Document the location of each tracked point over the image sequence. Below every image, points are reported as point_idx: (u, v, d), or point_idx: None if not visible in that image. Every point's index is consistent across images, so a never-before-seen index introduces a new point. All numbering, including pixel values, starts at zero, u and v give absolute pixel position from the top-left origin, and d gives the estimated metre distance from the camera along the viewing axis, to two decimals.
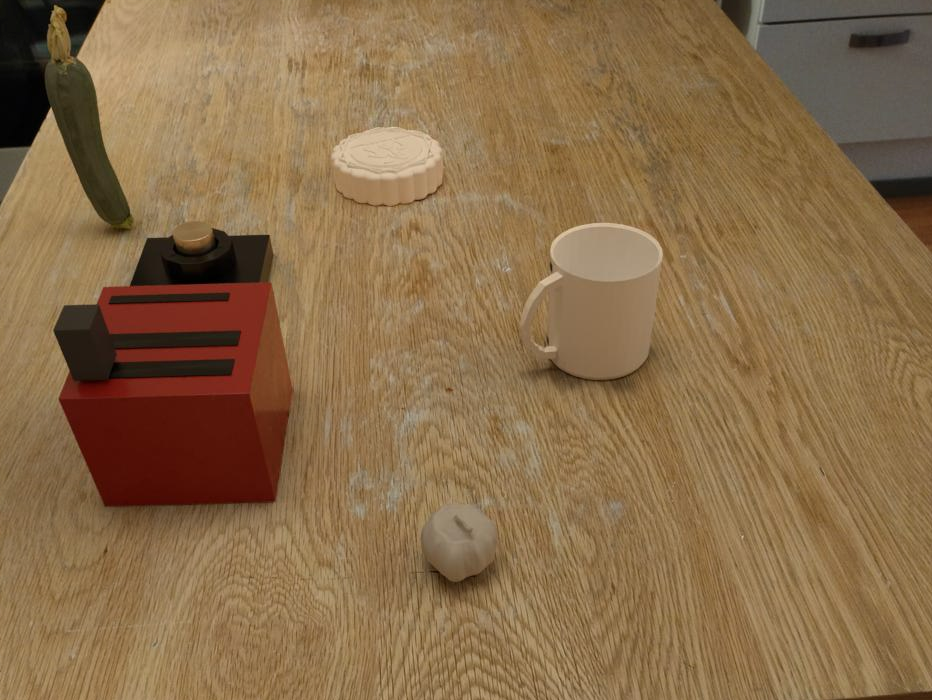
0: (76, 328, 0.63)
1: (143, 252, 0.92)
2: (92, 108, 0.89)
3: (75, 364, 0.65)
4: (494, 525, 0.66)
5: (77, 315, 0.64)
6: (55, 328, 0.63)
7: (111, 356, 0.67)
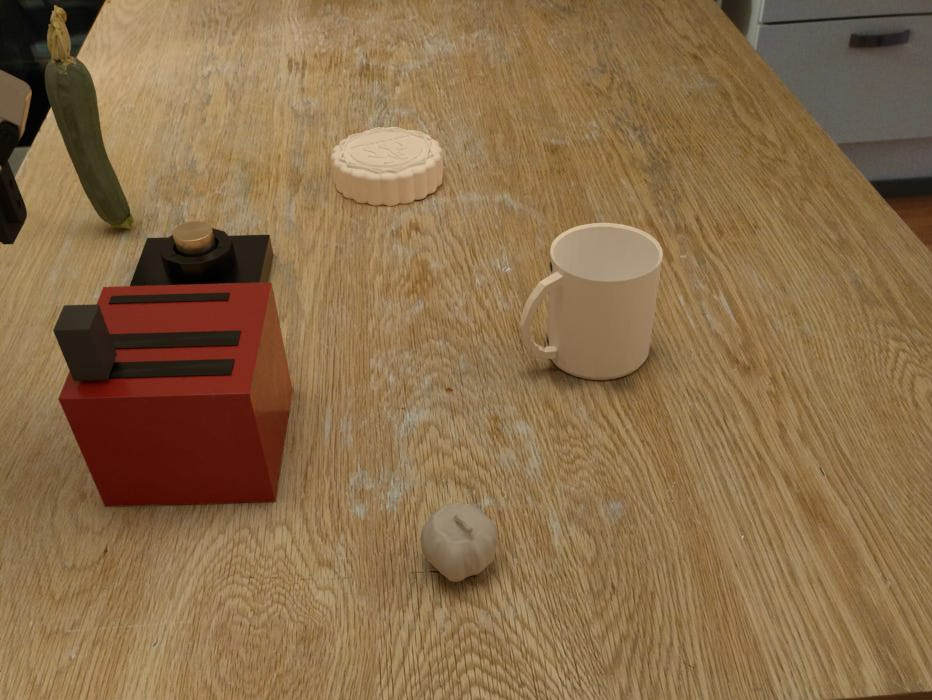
0: (76, 328, 0.63)
1: (143, 252, 0.92)
2: (92, 108, 0.89)
3: (75, 364, 0.65)
4: (494, 525, 0.66)
5: (77, 315, 0.64)
6: (55, 328, 0.63)
7: (111, 356, 0.67)
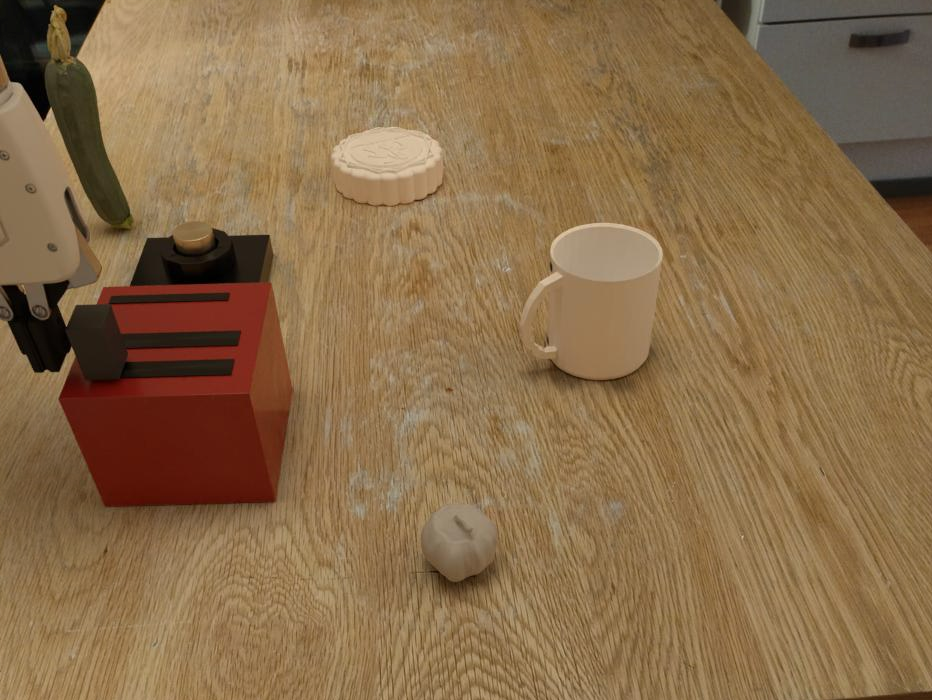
0: (88, 327, 0.63)
1: (143, 252, 0.92)
2: (92, 107, 0.89)
3: (87, 364, 0.65)
4: (494, 525, 0.66)
5: (89, 315, 0.64)
6: (67, 328, 0.63)
7: (122, 356, 0.67)
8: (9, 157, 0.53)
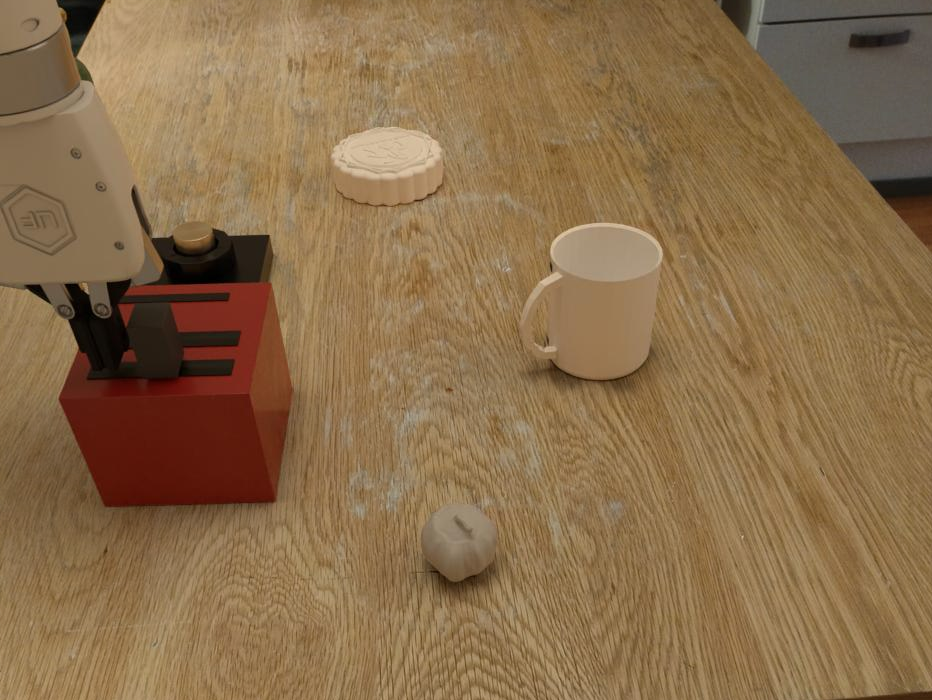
0: (149, 326, 0.63)
1: None
2: None
3: (146, 362, 0.65)
4: (494, 525, 0.66)
5: (149, 313, 0.64)
6: (128, 326, 0.63)
7: (180, 354, 0.67)
8: (81, 156, 0.53)
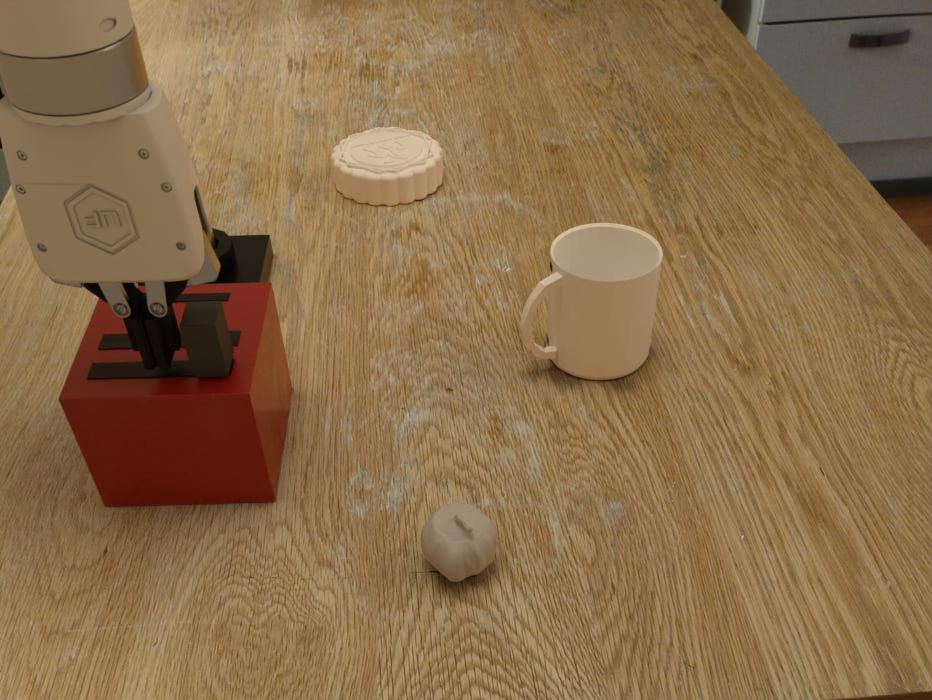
0: (202, 324, 0.63)
1: None
2: None
3: (197, 361, 0.65)
4: (494, 525, 0.66)
5: (201, 312, 0.64)
6: (181, 325, 0.63)
7: (230, 353, 0.67)
8: (148, 156, 0.54)
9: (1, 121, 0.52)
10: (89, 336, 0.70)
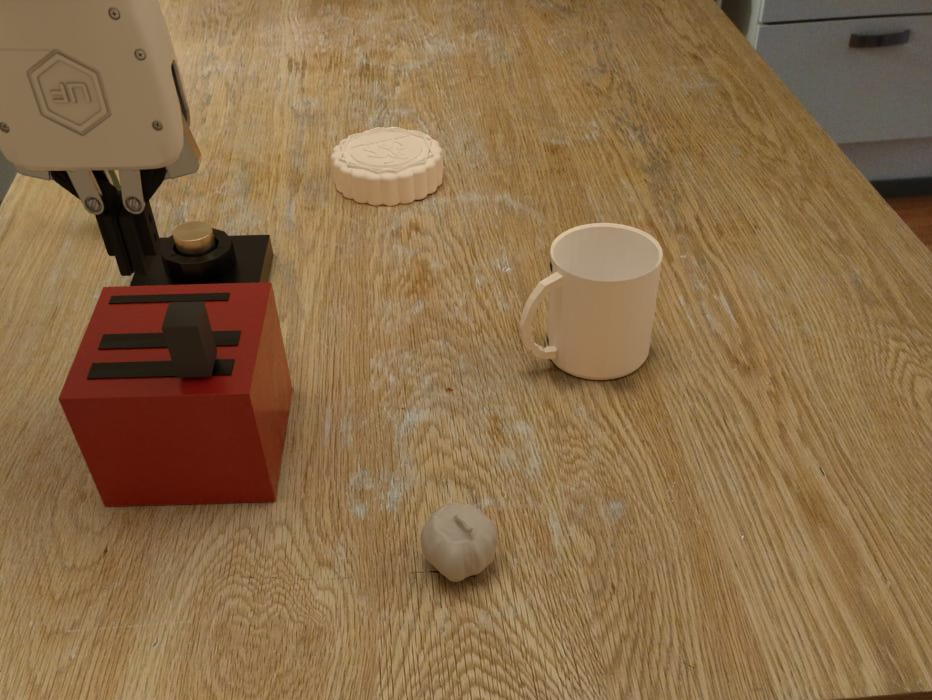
0: (185, 325, 0.63)
1: None
2: None
3: (180, 361, 0.65)
4: (494, 525, 0.66)
5: (184, 312, 0.64)
6: (163, 325, 0.63)
7: (213, 353, 0.67)
8: (119, 17, 0.48)
9: None
10: (89, 336, 0.70)
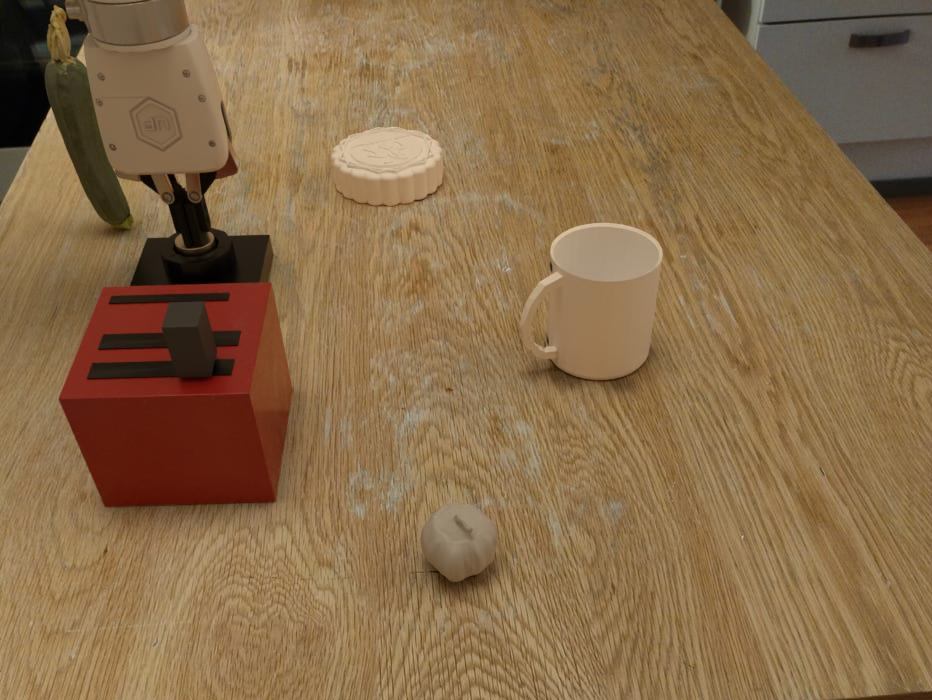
0: (185, 325, 0.63)
1: (143, 252, 0.92)
2: (92, 108, 0.89)
3: (180, 361, 0.65)
4: (494, 525, 0.66)
5: (184, 312, 0.64)
6: (163, 325, 0.63)
7: (213, 353, 0.67)
8: (189, 75, 0.76)
9: (87, 51, 0.75)
10: (89, 336, 0.70)
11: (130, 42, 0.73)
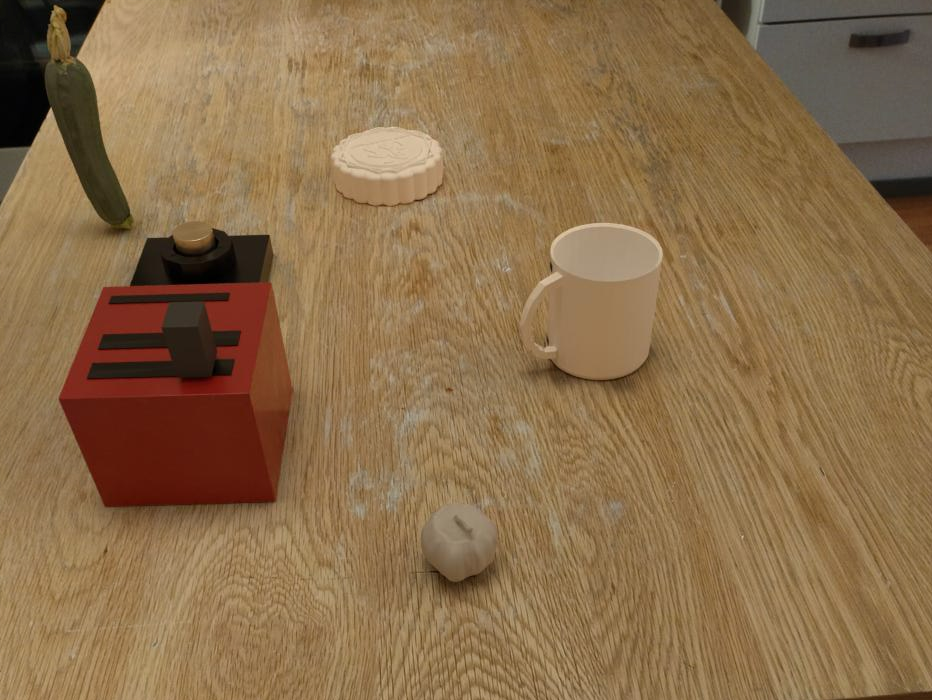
0: (185, 325, 0.63)
1: (143, 252, 0.92)
2: (92, 108, 0.89)
3: (180, 361, 0.65)
4: (494, 525, 0.66)
5: (184, 312, 0.64)
6: (163, 325, 0.63)
7: (213, 353, 0.67)
8: None
9: None
10: (89, 336, 0.70)
11: None
